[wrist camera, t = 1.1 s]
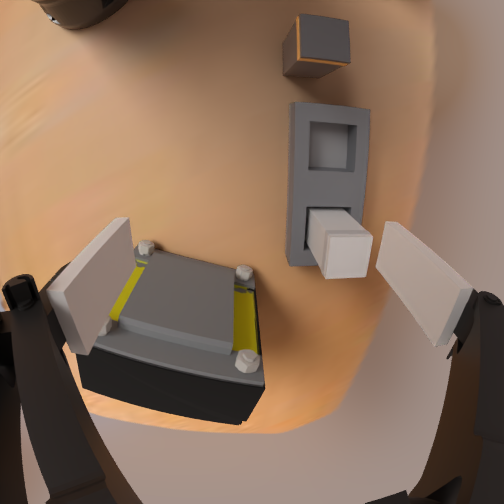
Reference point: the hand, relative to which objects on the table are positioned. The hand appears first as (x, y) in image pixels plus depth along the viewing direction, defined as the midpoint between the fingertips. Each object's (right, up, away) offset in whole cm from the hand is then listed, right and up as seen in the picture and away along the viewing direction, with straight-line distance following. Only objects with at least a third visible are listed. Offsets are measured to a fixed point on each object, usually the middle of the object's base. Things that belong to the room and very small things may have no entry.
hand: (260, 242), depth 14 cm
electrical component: (-9, -4, +28) cm, 29 cm away
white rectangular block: (+9, +4, +23) cm, 25 cm away
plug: (+6, +23, +15) cm, 28 cm away
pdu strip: (+9, +9, +22) cm, 25 cm away
